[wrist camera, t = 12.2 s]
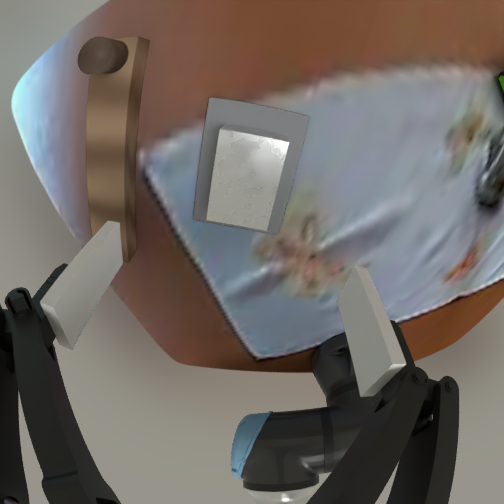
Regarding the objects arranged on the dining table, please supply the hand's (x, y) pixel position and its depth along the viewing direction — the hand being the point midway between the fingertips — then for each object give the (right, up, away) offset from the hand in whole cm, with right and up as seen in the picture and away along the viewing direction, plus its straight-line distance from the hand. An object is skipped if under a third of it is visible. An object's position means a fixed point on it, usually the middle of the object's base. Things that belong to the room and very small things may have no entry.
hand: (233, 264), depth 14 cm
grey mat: (0, +9, +13) cm, 16 cm away
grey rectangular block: (0, +9, +13) cm, 16 cm away
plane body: (-14, +12, +12) cm, 22 cm away
